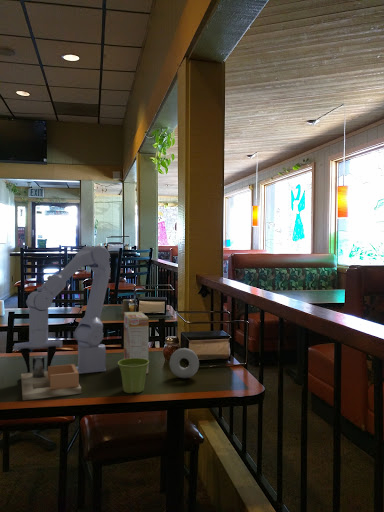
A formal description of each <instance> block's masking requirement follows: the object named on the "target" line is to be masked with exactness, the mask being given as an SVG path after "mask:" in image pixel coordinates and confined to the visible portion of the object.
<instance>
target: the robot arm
mask: <svg viewBox="0 0 384 512" xmlns="http://www.w3.org/2000/svg"><path fill="white" fill-rule="evenodd" d="M110 258H111V254H110V251H108V249H107V247H105V246H103V245H95V246H94V245H93V246H92V245H84V246H83V247H82V248H81V249H80V250H78V251H77V252H76V254H75V256H74V257H73V258H72V259H71V260H70V261H69V262H68V263H67V264H66V265H65V267H63V269H62V270H61V271H59V273H58V274H55V273H54V274H52V275H48V277H47V280H46V281H45V282H44V283H43V284H42V285H41V286H38V287H37V288H36V291H35V290H34V291H32V292H30V294H29V295H28V296H27V299H26V300H25V304H26V306H27V307H28V308H29V311H28V312H29V313H28V314H29V318H28V319H29V320H28V321H29V322H28V323H29V324H28V325H29V326H28V328H29V329H28V330H29V331H28V332H29V333H28V339H29V340H28V341H25V342H19V343H18V342H17V343H16V342H15V343H14V345H13V351H14V352H15V351H20V354H21V356H22V358H23V360H24V362H25V365H26V366H25V367H26V370H27V371H26V372H27V373H31V367H30V354H31V353H30V350H35V349H37V350H39V349H46V352H47V354H46V355H47V356H46V358H47V360H46V371H48V366H52V365H51V364H52V361H53V359H54V356H55V355H56V352H57V348H63V339H60V340H49V308H50V307H51V306H52V304H53V300H54V299H55V298H56V297H57V296H58V295H59V294H60V293H61V292H62V291H63V290H64V289H65V288H66V287H67V281H68V280H69V279H70V278H71V277H72V276H74V275H75V273H77V272H78V271H79V270H80V269H82V268H83V267H84V266H88V267H89V268H90V270H91V271H92V272H93V278H92V282H91V286H90V292H89V296H88V300H87V303H86V304H87V305H86V310H85V313H84V317H82V318H81V319H80V320H79V322H78V326H77V327H76V328H75V330H74V333H73V334H74V339H75V340H76V341H77V366H75V367H76V369H77V370H78V372H79V375H80V374H89V373H90V374H91V373H99V372H106V371H107V369H106V368H107V367H106V365H107V364H106V363H107V355H106V354H107V353H106V352H107V351H106V350H107V349H106V345H105V344H103V343H102V341H103V339H104V332H103V331H104V323H103V322H102V320H101V316H102V311H103V306H104V302H105V298H106V293H107V289H108V286H109V280H110V275H111V266H110Z"/></svg>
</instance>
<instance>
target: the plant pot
mask: <svg viewBox="0 0 384 512" xmlns="http://www.w3.org/2000/svg"><path fill="white" fill-rule="evenodd" d="M149 363H150V360H149V359H148V360H147V359H143V358H129V359H124V358H122V359H120V360H118V361H117V365H118V366H119V367H118V368H119V370H120V375H121V381H122V382H121V383H122V389H123V390H122V391H123V392H125V393H127V394H133V393H136V394H138V393H141V392H143V391H144V390H145V382H146V375H147V374H146V369H147V366H148V367H149Z"/></svg>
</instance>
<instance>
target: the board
mask: <svg viewBox="0 0 384 512" xmlns="http://www.w3.org/2000/svg"><path fill="white" fill-rule="evenodd" d="M20 375H21V376H20V377H21V379H20V380H21V396H22V397H21V398H22V401H30V400H38V399H46V398H53V397H62V396H63V397H64V396H70V395H71V396H72V395H78V394H82V386H81V385H80V383H79V386H77V387H69V388H60V389H51V390H50V380H48V371H47V370H44V377H41V378H33V377H32V372H30V373H28V372H27V373H21V374H20Z"/></svg>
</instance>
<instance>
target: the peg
mask: <svg viewBox="0 0 384 512" xmlns="http://www.w3.org/2000/svg"><path fill="white" fill-rule="evenodd" d="M31 371H32V372H31V373H32V377H33V378H41V377H44V372H45V356H41V355H40V356H34V357H32V370H31Z"/></svg>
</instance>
